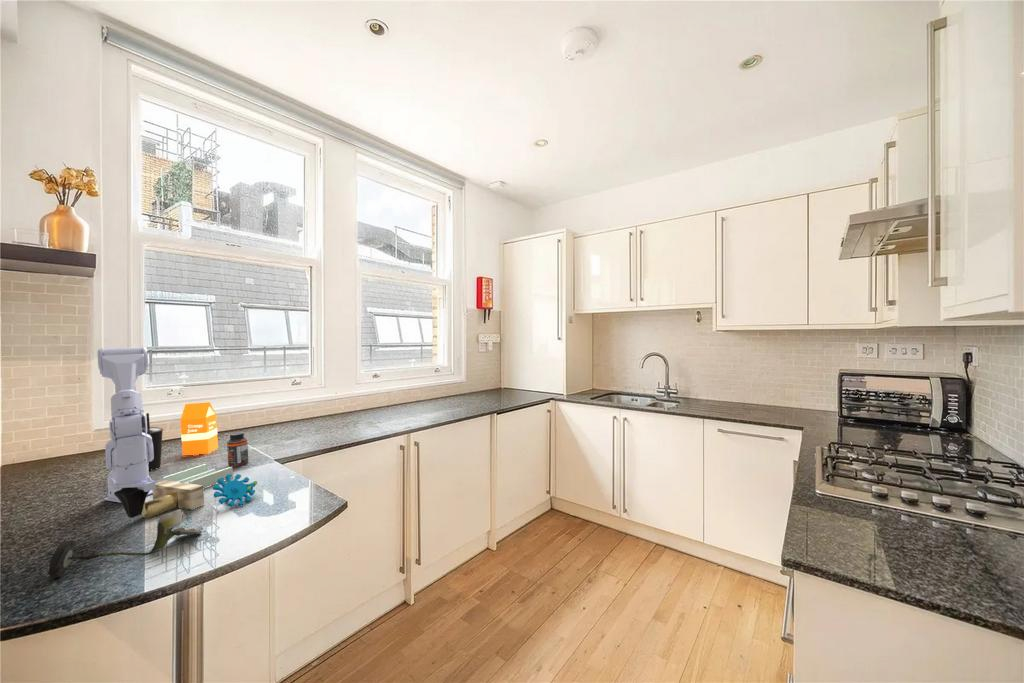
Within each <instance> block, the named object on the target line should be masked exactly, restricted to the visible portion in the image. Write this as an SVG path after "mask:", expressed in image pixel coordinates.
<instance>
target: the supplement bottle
mask: <svg viewBox="0 0 1024 683" xmlns="http://www.w3.org/2000/svg"><path fill="white" fill-rule="evenodd" d="M244 436H245V434H244V432H243V431H237V432H233V433H230V434H229V439H228V441H227V443H226V447H227V449H226V451H227V464H228V467H230V466H231V467H232V468H233V467H234V466H236V467H241V466H244V465H247V464H248V463H249V446H248V444H249V443H248V438H246V437H244ZM246 463H247V464H246ZM234 468H235V467H234Z"/></svg>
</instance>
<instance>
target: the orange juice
mask: <svg viewBox="0 0 1024 683" xmlns="http://www.w3.org/2000/svg"><path fill="white" fill-rule="evenodd" d="M217 421H218V420H217V413H216V412H215V410H214V408H213V406H212V404H211V402H210V401H209V402H195V403H185V404H184V407H183V410H182V414H181V417H180V436H181V437H180V438H181V446H182V449H181V450H182V456H183V455H193V456H199V454H203V455H209V454H211V453H213V452H215V451H216V450H218V449H219V441H218V427H217V426H218V424H217ZM212 451H213V452H212Z"/></svg>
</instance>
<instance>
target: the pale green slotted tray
mask: <svg viewBox="0 0 1024 683" xmlns="http://www.w3.org/2000/svg"><path fill="white" fill-rule="evenodd" d="M233 471H234V469H233V467H230V466H228V467H226V468H223V469H220V470H217V469H216V468H212V469H208V463H204V464H201V465H197V466H194V467H191V468H188V469H184V470H181V471H178V472H176V473H172V474H169V475H166V476H163V477H162V481H164V480H166V481H174V482H181V483H188V484H197V485H202V486H203V488H205V487H207V486H210V485H213V484H216V483H218V482H217V481H218V479H220V478H224V480H226V478H225V477H226V475H228V474H231V475H232V477H233V478H234V474H233V473H234V472H233ZM226 481H227V480H226ZM218 484H219V483H218ZM213 486H214V485H213ZM210 487H211V486H210ZM205 489H206V488H205Z"/></svg>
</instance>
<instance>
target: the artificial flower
mask: <svg viewBox="0 0 1024 683" xmlns="http://www.w3.org/2000/svg"><path fill="white" fill-rule="evenodd" d="M185 517H186V514H185V513H184V511H183V509H182V508H178V509H176V510H174V511H171V512H169V513H165V514H164V513H163V514H162V515H160V516H159V519H158V522H157V526H156V528H157V529H156V530H157V532H156V539H155V543H154V546H153V547H152V549H151V550H150V551H149V552H127V551H126V552H123V551H122V552H121V551H120V552H118V551H115V552H113V551H112V552H108V553H104V552H103V553H91V554H86V555H80V556H75V554H76V549H75V548H76V547H77V546H76V540H63V541H62V542H60V543H59V544H58V546H57V547H56V549H55V551H54V553H53V555H52V557H51V558H50V562H49V567H48V573H47V575H49V576H50V577H49V578H48V580H51V579H52V580H53V579H57V578H61V577H62V575H63V574H64V573H65V572H66V570H67V569H68V566H69V565H70V563H71V561H72V560H75V559H79V560H81V561H82V560H83V561H85V560H86V561H89V560H92V559H96V558H99V557H105V556H106V557H108V556H116V555H118V556H119V555H120V556H124V555H125V556H141V555H143V556H147V554H148V555H151V554H153V553H155V552H156V551H159V550H161V549H162V548H165V547H166V546H167V545H168V542H169V541H170V539H171V538H173V537H174V536H176V537H179V536H182V535H183V536H184V535H186V536H187V535H188V536H192V535H202V534H201V533H202V530H201V529H195V528H193V527H192V528H188V529H187V528H185V527H182V526H181V527H179V526H180V525H181V524H182V523H183V521H184V519H185ZM176 527H177V528H176ZM191 534H192V535H191Z"/></svg>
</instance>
